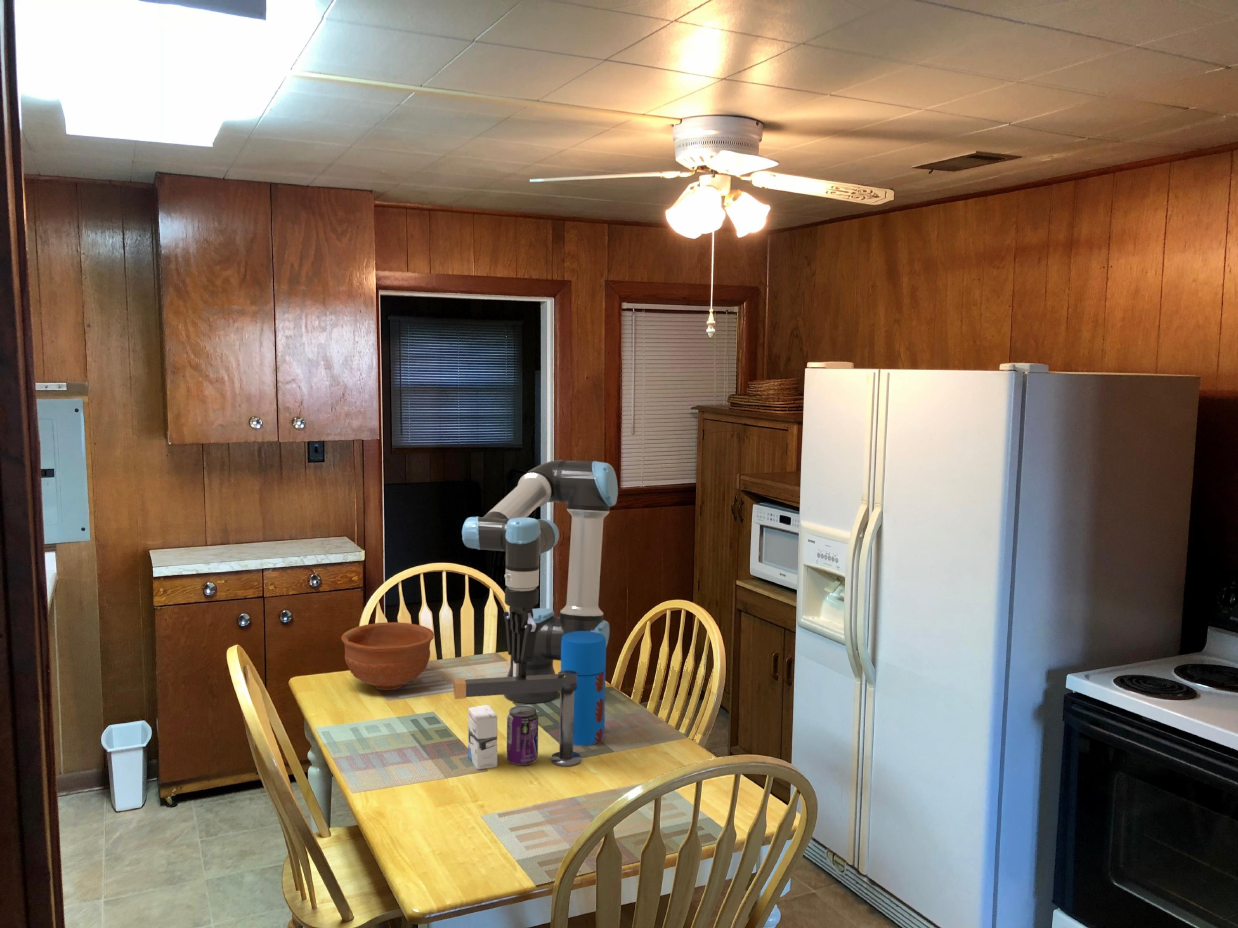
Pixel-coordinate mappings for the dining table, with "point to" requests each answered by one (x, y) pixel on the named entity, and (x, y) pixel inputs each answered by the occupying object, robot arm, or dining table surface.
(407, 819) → the dining table surface
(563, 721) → the post
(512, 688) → the swing bar
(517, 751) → the beverage can
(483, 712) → the ink box
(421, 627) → the bowl
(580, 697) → the thermos
